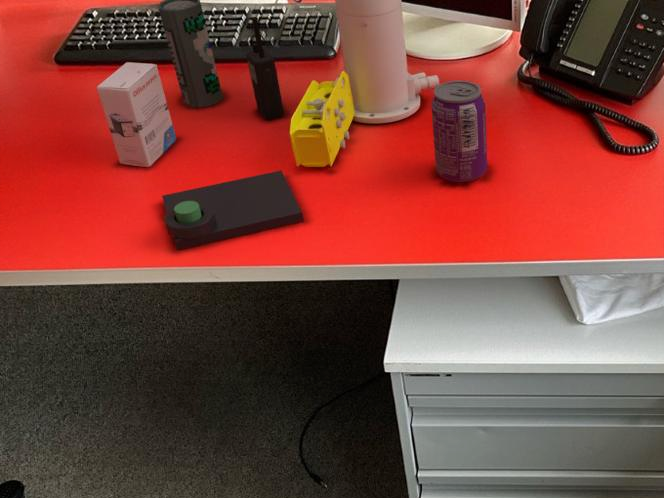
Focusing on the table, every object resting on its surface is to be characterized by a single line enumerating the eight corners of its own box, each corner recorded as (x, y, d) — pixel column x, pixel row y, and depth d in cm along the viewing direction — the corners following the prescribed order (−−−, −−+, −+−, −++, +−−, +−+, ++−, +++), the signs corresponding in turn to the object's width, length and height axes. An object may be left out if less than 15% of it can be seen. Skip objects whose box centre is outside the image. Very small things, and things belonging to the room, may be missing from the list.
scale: (283, 179, 123) (279, 159, 121) (305, 223, 115) (301, 202, 113) (161, 205, 119) (155, 185, 117) (174, 253, 110) (167, 232, 108)
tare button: (199, 209, 113) (196, 198, 112) (203, 221, 111) (200, 210, 110) (175, 214, 112) (172, 204, 111) (179, 226, 110) (175, 215, 109)
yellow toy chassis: (335, 171, 124) (324, 115, 119) (296, 171, 125) (283, 116, 119) (358, 118, 136) (349, 65, 130) (322, 119, 137) (311, 66, 131)
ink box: (148, 137, 133) (125, 60, 126) (179, 140, 133) (158, 62, 125) (119, 165, 127) (92, 86, 119) (151, 168, 126) (127, 88, 119)
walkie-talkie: (256, 110, 140) (236, 12, 130) (277, 105, 141) (258, 8, 131) (267, 122, 136) (246, 23, 126) (288, 116, 138) (269, 18, 128)
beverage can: (494, 164, 125) (492, 82, 117) (477, 189, 120) (473, 105, 112) (447, 157, 127) (442, 76, 119) (428, 181, 122) (421, 98, 114)
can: (225, 103, 142) (202, 7, 132) (185, 110, 140) (159, 13, 130) (220, 88, 146) (197, -6, 136) (181, 94, 144) (156, -1, 134)
